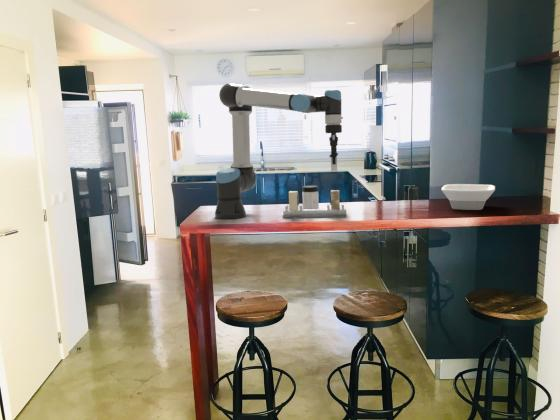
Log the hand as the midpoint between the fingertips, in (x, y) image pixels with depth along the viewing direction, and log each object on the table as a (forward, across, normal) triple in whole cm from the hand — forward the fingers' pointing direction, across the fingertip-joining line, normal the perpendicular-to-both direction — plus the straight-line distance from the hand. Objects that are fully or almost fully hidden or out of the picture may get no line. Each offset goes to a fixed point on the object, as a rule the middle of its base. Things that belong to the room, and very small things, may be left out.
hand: (334, 170), depth 217 cm
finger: (+19, 0, 0) cm, 19 cm away
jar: (+22, +20, +13) cm, 32 cm away
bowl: (+22, +16, -65) cm, 71 cm away
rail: (+22, 0, +10) cm, 24 cm away
